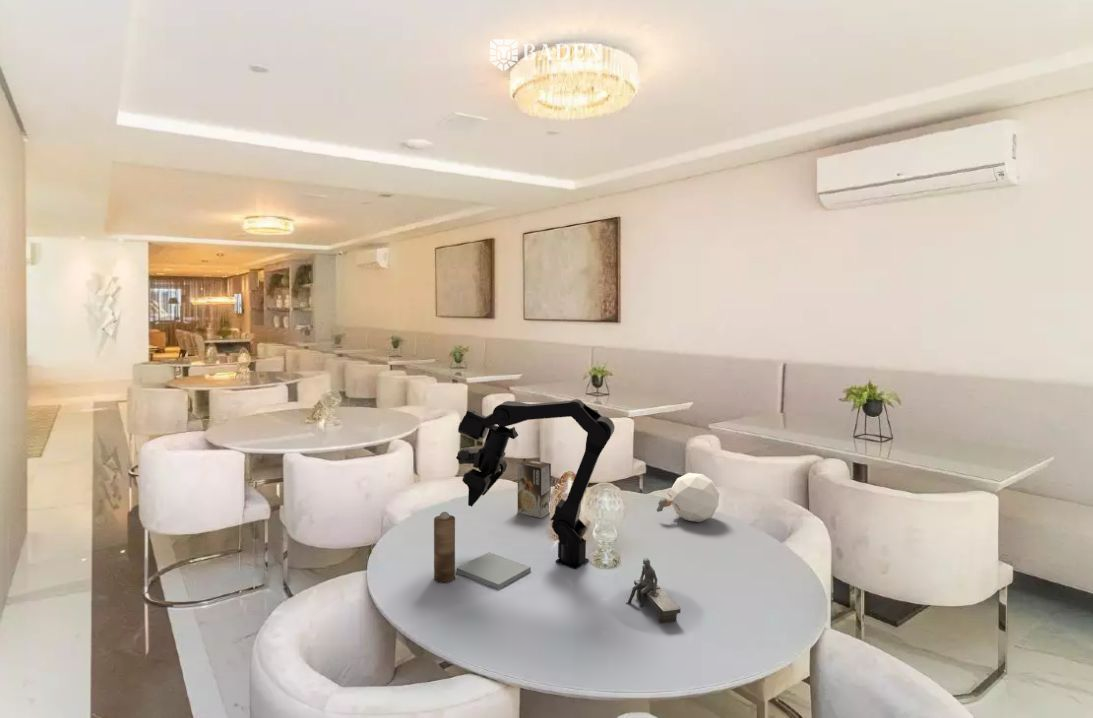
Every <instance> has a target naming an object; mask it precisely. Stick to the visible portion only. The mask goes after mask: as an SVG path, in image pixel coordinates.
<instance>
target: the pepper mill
mask: <svg viewBox="0 0 1093 718" xmlns="http://www.w3.org/2000/svg"><path fill="white" fill-rule="evenodd" d="M433 579H434V581H435V582H437V583H438V584H439V583H441V584H447V583H450V582H453V581H454V580H455V579H456V517H455V516H454V515H451V514H449V512H448V511H442V512H441V513H440V514H439V515H436V516H435V517H434V518H433Z"/></svg>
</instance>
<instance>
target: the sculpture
mask: <svg viewBox="0 0 1093 718" xmlns="http://www.w3.org/2000/svg"><path fill="white" fill-rule="evenodd" d="M642 564H643V565H642V568H641V569H642V570H641V574H640V577H639V579H635V580H634V581H633V584H634V586H633V587H632V588H631V592H630V596H629V598H628V601H627V602H625V605H630V604H632V601H633V600H634V596H636V599H637V600H638V601H639V600H640V605H638V606H639V608H643V607H645V604H644V603H645V600H646V599H647V600H649V602H651V603H652V605H653V606H654V607H655V608H656V609H657V623H658V624H659V625H660V624H665V623H671V622H677V616H678V615H677V614H681V608H680V606H679V605H678V604H677V603H675V602H674V600H673V599H672V598H670V597H669V595H668V594H666V593H665V592H664V591H663V590H662V588H661V586H659V584H658V577H657V575H656V570H655V569H654V567H652V565H651V560H650V559H649V558H648V557H644V558H643V559H642ZM635 594H636V595H635Z"/></svg>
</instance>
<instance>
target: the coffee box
mask: <svg viewBox="0 0 1093 718" xmlns="http://www.w3.org/2000/svg"><path fill="white" fill-rule="evenodd" d="M551 470H552V463H550V462H545V461H537V460H532V459H525V460H522V461H521V462H519V463H517V514H520V515H527V516H530V517H535V518H539V519H542V518H544V517H545V516H547V515H549V514H550V513H549V502H550V497H551V498H552V496H551V495H552V494H551V487H552V485H551V484H552V483H551V481H552V477H551V476H552V475H551V474H552V473H551V472H552V471H551Z"/></svg>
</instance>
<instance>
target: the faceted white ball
mask: <svg viewBox="0 0 1093 718" xmlns="http://www.w3.org/2000/svg"><path fill="white" fill-rule="evenodd" d="M667 495H668V496H669V497H670V499H668V498H661V499H660V500H658V506H657V508H656V512H663V509H665V508H668V507H670V506H672V507H673V510H674V511H675V513H676V514H677V515H678V516H679V517H681V518H682V519H684V520H685V521H688V522H689V521H690V522H695V523H696V522H697V523H702V522H704V521H705V520H708V519H710V518H712V517H713V516H714V514H715V512H716V510H717V509H718V507H719V501H720V500H719V499H720V492H719V490H718V488H717V486H716V485H715V483H714V481H713V480H712V479H710V477H708V476H706V475H705V474H703V473H694V472H687V473H685V474H684V475H682V476H679V477H677V478H676V480H675V482H674V483H673V485H672V487H671V490H670V493H669V492H667Z"/></svg>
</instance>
